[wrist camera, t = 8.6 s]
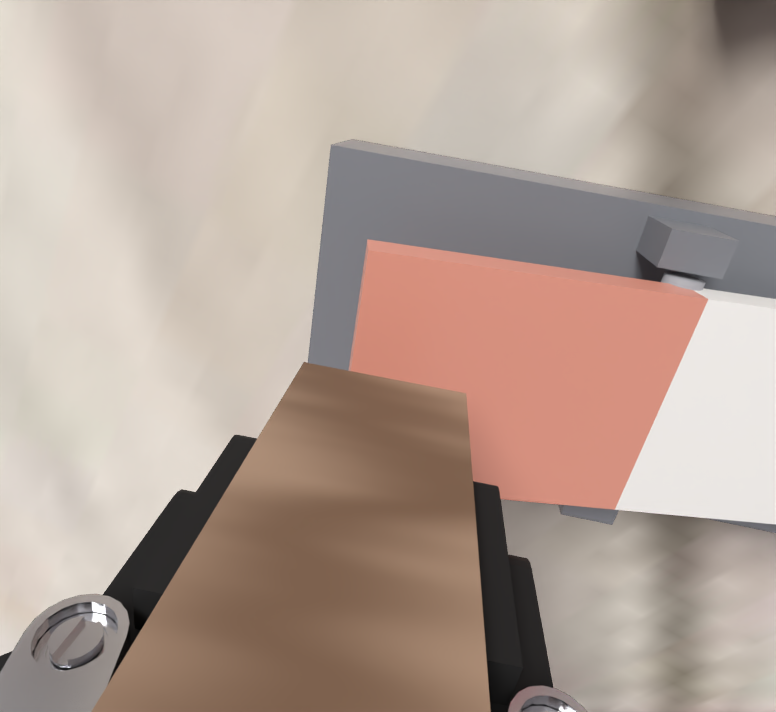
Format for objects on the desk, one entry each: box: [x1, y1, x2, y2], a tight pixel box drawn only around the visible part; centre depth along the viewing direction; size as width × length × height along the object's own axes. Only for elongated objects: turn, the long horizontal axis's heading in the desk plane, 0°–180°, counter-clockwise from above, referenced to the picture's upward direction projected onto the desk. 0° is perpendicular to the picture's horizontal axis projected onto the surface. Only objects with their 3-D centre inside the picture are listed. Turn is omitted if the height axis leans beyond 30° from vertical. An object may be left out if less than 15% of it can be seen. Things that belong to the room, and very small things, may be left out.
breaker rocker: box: [349, 239, 776, 524], centre depth 18 cm, size 20×8×2 cm, turn 81°
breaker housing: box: [308, 139, 776, 533], centre depth 21 cm, size 24×12×6 cm, turn 81°
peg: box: [91, 362, 491, 712], centre depth 10 cm, size 4×4×9 cm
